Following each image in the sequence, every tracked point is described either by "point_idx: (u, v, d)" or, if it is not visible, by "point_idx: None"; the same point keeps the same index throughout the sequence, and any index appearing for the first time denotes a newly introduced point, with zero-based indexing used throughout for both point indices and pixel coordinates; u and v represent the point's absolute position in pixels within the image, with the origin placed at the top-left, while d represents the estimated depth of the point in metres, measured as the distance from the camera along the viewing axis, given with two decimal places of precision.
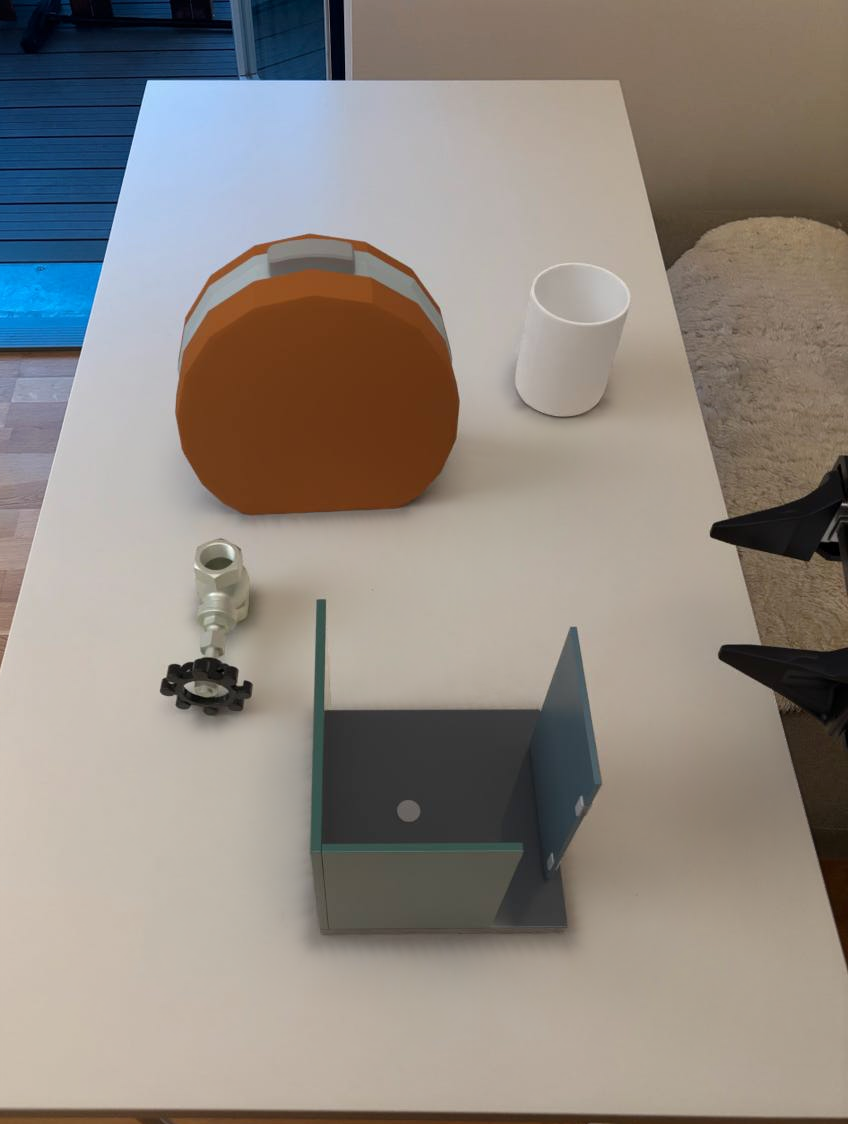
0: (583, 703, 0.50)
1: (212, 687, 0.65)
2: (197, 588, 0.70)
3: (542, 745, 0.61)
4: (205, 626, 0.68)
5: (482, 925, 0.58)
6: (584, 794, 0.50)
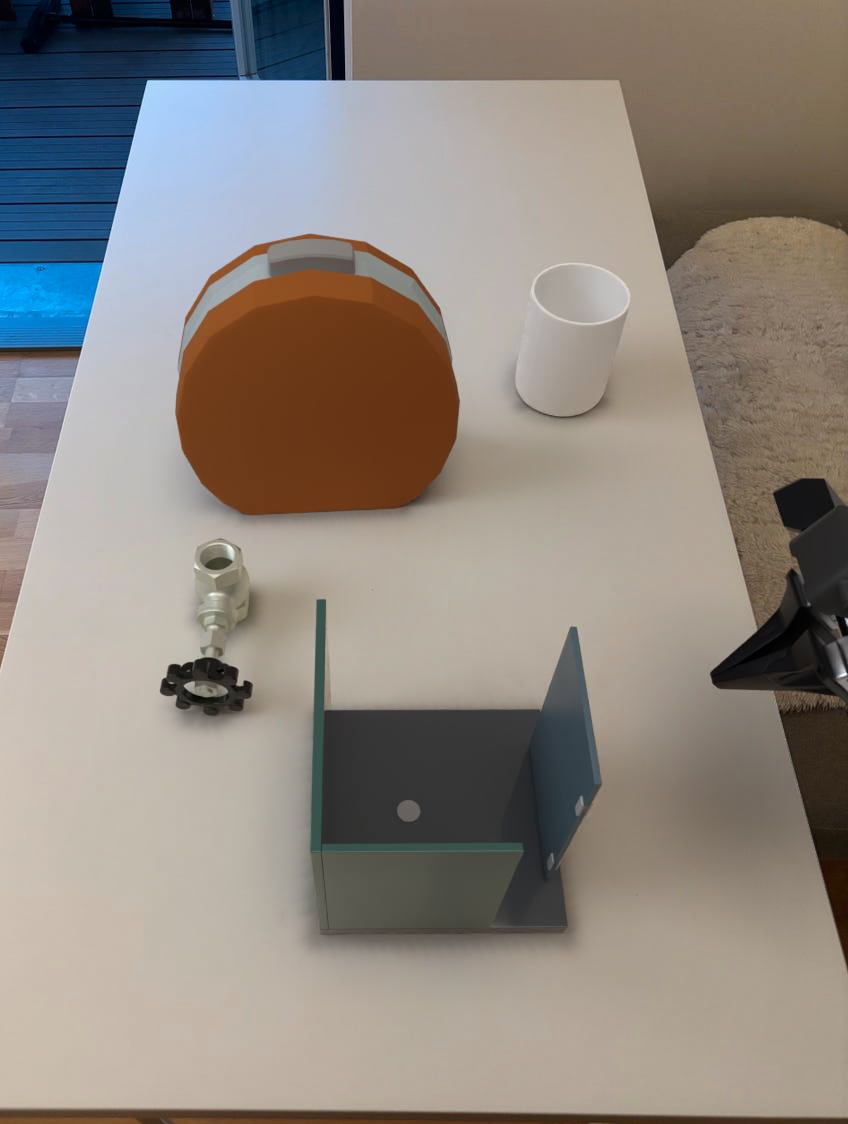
0: (583, 703, 0.50)
1: (212, 687, 0.65)
2: (197, 588, 0.70)
3: (542, 745, 0.61)
4: (205, 626, 0.68)
5: (482, 925, 0.58)
6: (584, 794, 0.50)
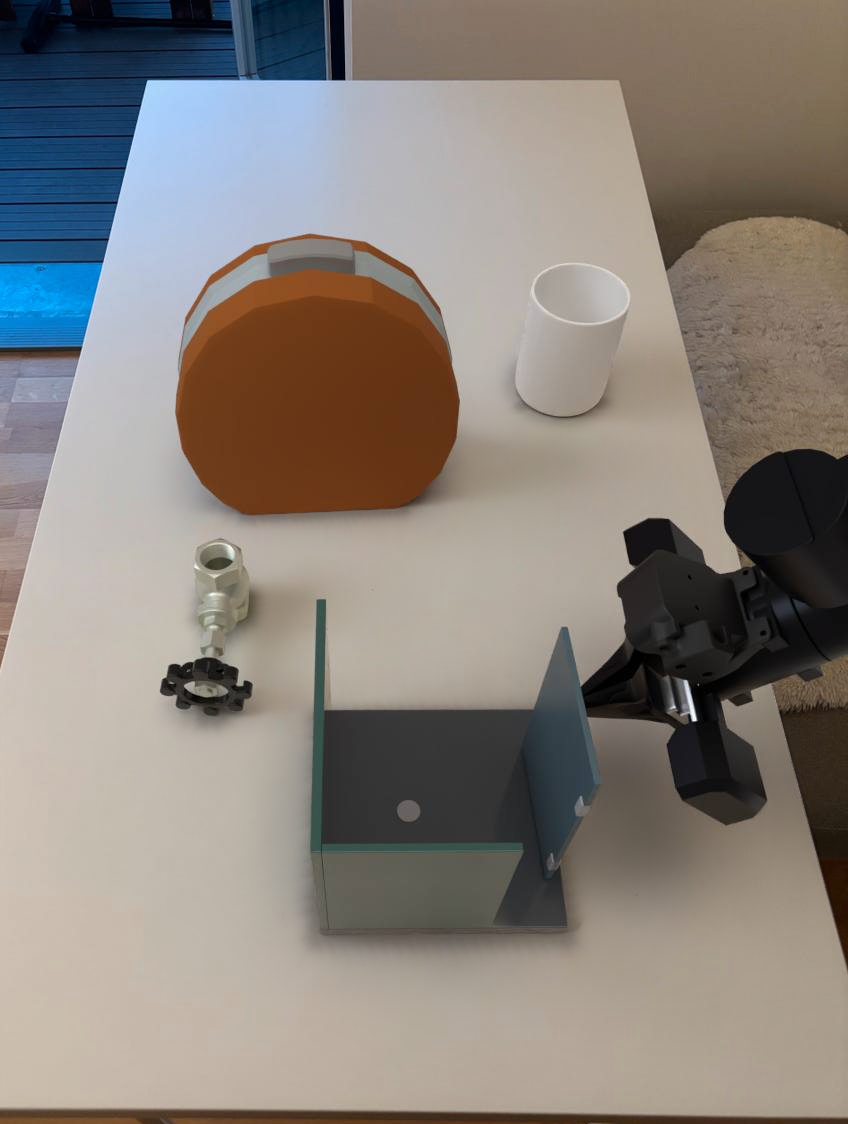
0: (578, 703, 0.50)
1: (212, 687, 0.65)
2: (197, 588, 0.70)
3: (536, 745, 0.61)
4: (205, 626, 0.68)
5: (482, 925, 0.58)
6: (583, 794, 0.50)
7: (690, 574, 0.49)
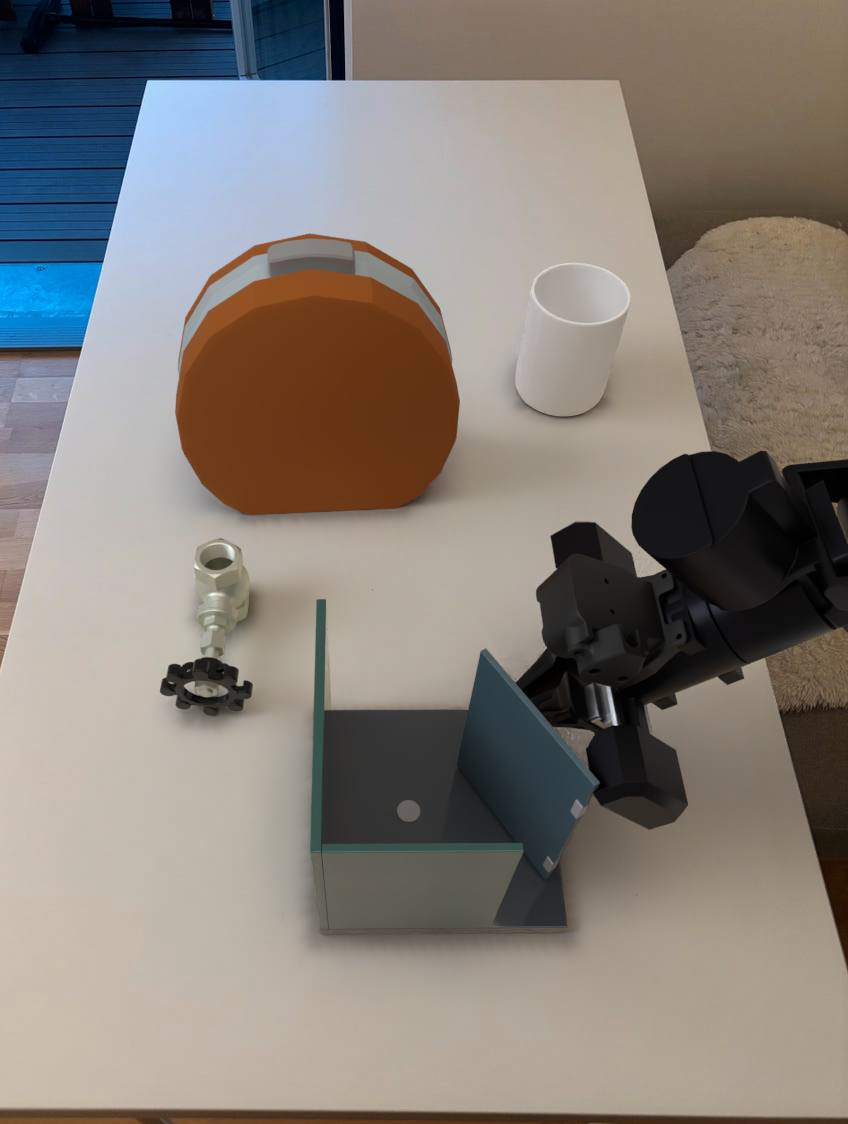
0: (537, 717, 0.50)
1: (212, 687, 0.65)
2: (197, 588, 0.70)
3: (482, 763, 0.60)
4: (205, 626, 0.68)
5: (482, 925, 0.58)
6: (580, 797, 0.50)
7: (607, 578, 0.49)
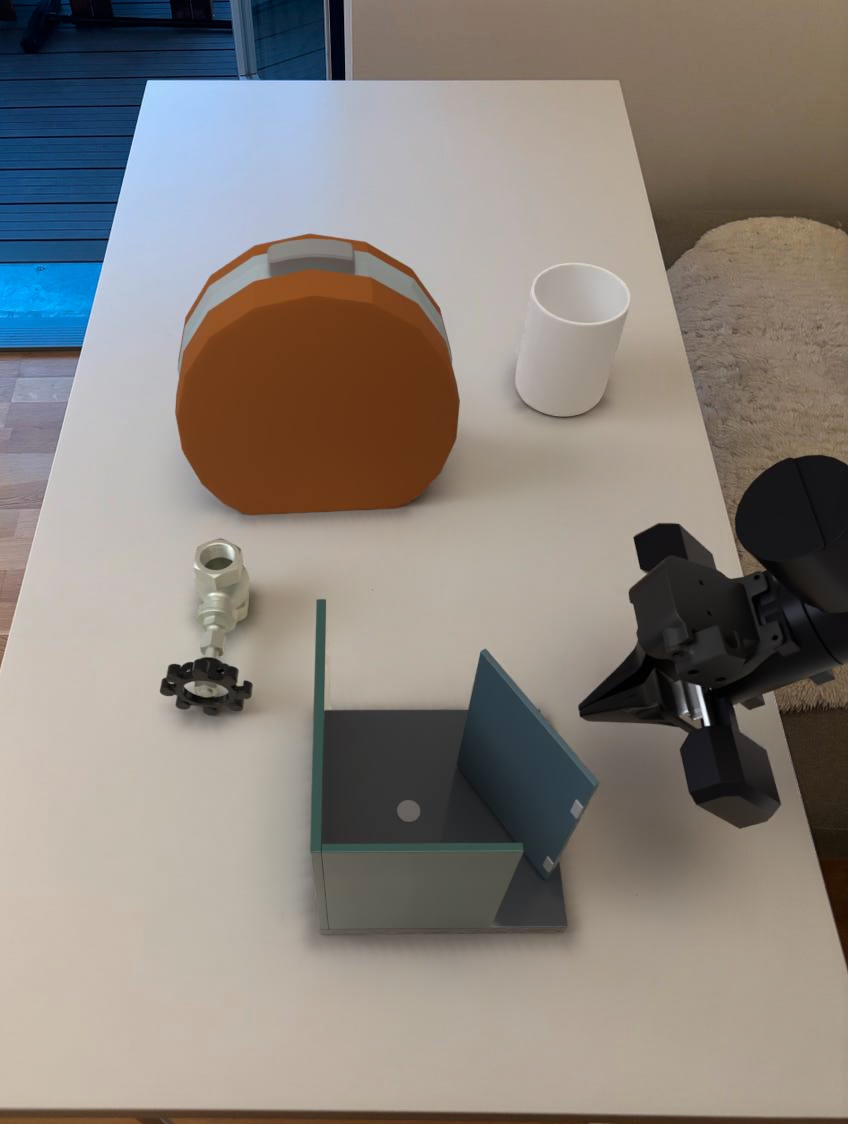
0: (537, 717, 0.50)
1: (212, 687, 0.65)
2: (197, 588, 0.70)
3: (482, 763, 0.60)
4: (205, 626, 0.68)
5: (482, 925, 0.58)
6: (580, 797, 0.50)
7: (702, 580, 0.50)
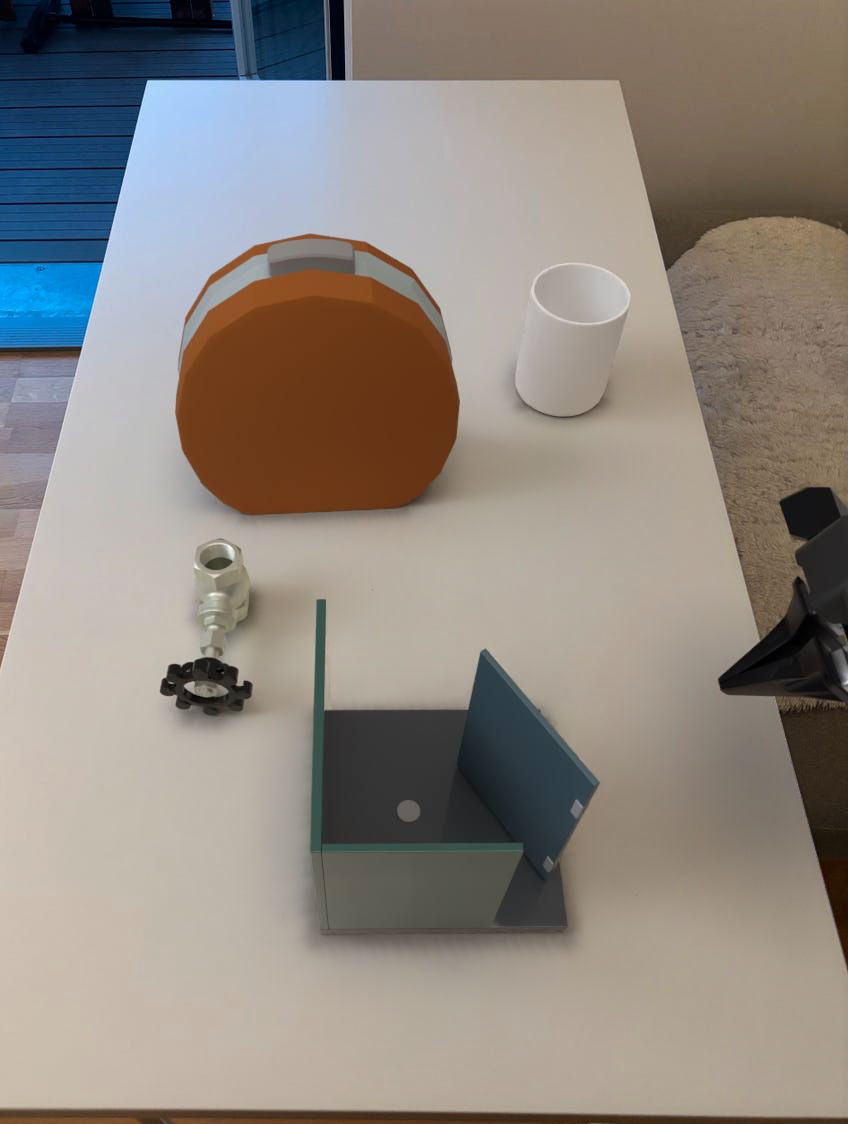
0: (537, 717, 0.50)
1: (212, 687, 0.65)
2: (197, 588, 0.70)
3: (482, 763, 0.60)
4: (205, 626, 0.68)
5: (482, 925, 0.58)
6: (580, 797, 0.50)
7: None
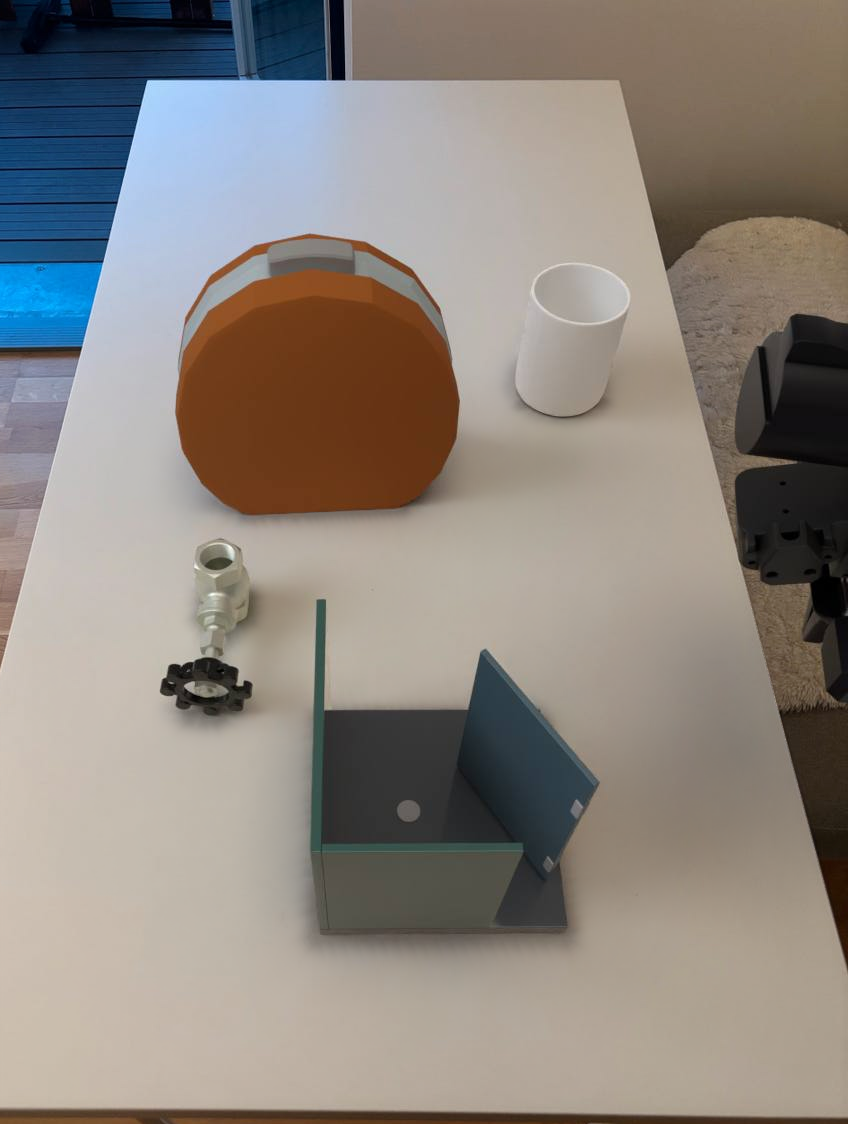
0: (537, 717, 0.50)
1: (212, 687, 0.65)
2: (197, 588, 0.70)
3: (482, 763, 0.60)
4: (205, 626, 0.68)
5: (482, 925, 0.58)
6: (580, 797, 0.50)
7: (784, 479, 0.49)
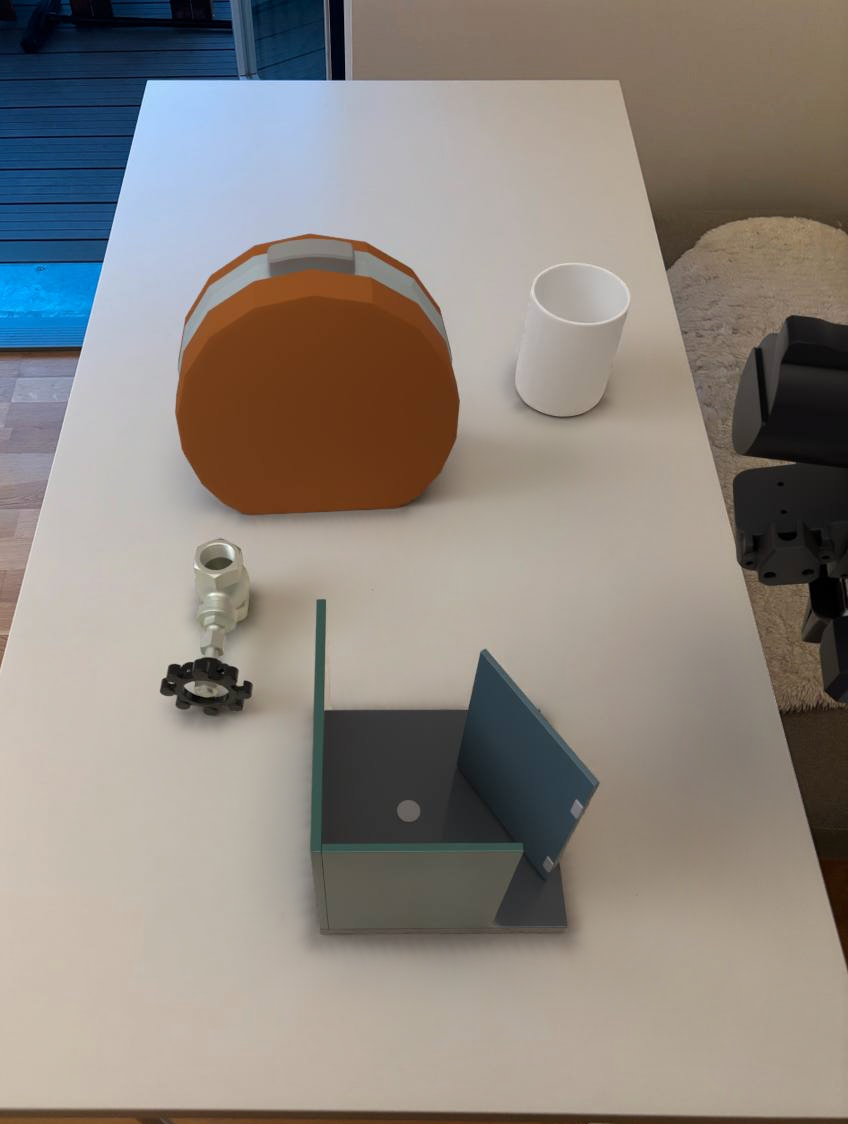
0: (537, 717, 0.50)
1: (212, 687, 0.65)
2: (197, 588, 0.70)
3: (482, 763, 0.60)
4: (205, 626, 0.68)
5: (482, 925, 0.58)
6: (580, 797, 0.50)
7: (782, 480, 0.49)
